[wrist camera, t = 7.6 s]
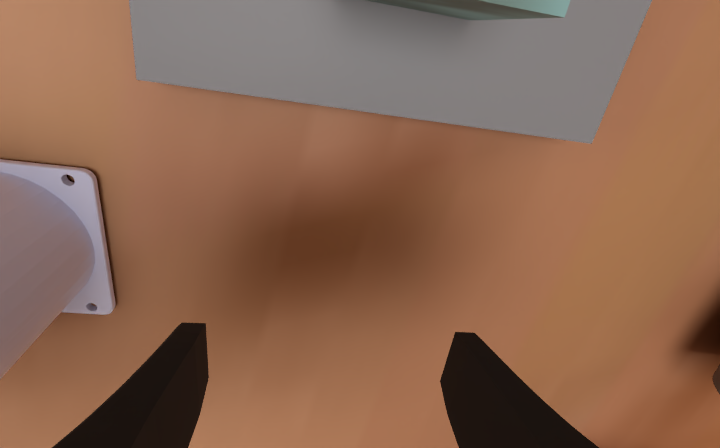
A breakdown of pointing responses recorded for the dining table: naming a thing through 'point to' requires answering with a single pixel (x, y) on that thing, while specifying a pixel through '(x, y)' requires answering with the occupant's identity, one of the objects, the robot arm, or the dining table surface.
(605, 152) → the dining table surface
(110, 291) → the robot arm
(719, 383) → the bluetooth speaker
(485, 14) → the teal block
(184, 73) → the base board
